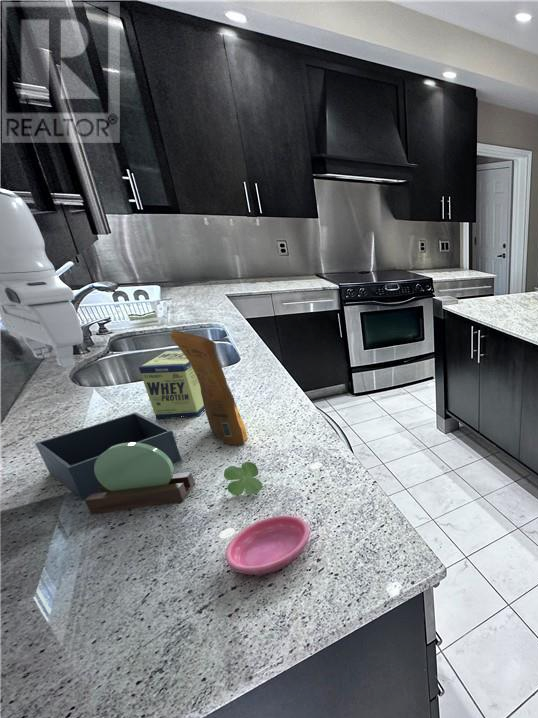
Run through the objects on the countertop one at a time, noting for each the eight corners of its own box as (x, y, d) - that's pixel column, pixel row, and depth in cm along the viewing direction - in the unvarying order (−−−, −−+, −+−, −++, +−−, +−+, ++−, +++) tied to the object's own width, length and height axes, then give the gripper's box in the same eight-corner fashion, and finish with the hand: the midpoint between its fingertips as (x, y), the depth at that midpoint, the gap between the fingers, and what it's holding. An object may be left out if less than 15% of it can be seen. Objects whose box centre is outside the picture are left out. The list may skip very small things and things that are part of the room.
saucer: (305, 574, 66) (302, 560, 65) (218, 590, 63) (213, 575, 62) (316, 522, 77) (313, 509, 76) (242, 534, 74) (238, 520, 73)
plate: (178, 492, 83) (161, 442, 78) (106, 501, 79) (83, 449, 75) (181, 488, 84) (164, 438, 79) (110, 497, 80) (88, 446, 76)
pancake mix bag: (227, 454, 97) (196, 343, 86) (197, 429, 108) (166, 327, 97) (257, 443, 102) (231, 336, 92) (225, 420, 113) (199, 322, 102)
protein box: (155, 419, 111) (137, 367, 105) (183, 396, 125) (168, 348, 119) (198, 417, 114) (183, 365, 108) (221, 394, 128) (208, 347, 122)
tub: (83, 500, 81) (67, 468, 78) (49, 474, 88) (34, 443, 85) (181, 459, 95) (172, 430, 92) (146, 439, 102) (136, 412, 99)
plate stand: (183, 502, 81) (178, 488, 80) (90, 514, 77) (84, 500, 76) (195, 484, 87) (191, 471, 85) (109, 494, 82) (103, 481, 81)
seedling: (256, 501, 90) (245, 505, 83) (226, 479, 89) (213, 482, 82) (280, 475, 92) (272, 477, 85) (251, 453, 91) (240, 453, 84)
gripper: (-29, 282, 71) (6, 356, 77) (24, 296, 64) (58, 377, 69) (23, 278, 77) (51, 348, 82) (77, 290, 69) (105, 366, 74)
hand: (55, 361), depth 76 cm, fingers open, 8 cm apart
